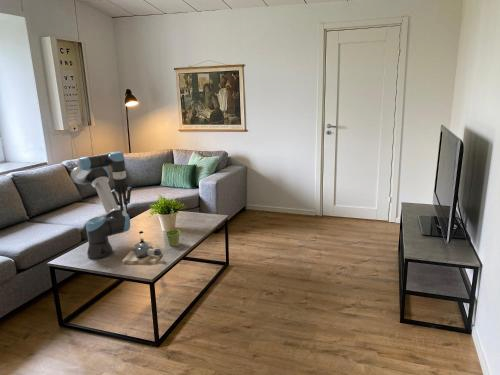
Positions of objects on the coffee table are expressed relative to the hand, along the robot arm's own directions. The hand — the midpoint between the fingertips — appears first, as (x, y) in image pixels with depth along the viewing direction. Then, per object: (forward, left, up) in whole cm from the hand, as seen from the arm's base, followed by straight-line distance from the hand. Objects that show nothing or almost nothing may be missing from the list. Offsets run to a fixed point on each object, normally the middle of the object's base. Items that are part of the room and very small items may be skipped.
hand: (124, 215), depth 229 cm
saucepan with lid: (+14, -6, -24) cm, 28 cm away
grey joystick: (+5, +10, -27) cm, 29 cm away
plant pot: (+24, +16, -27) cm, 39 cm away
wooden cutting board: (+10, -5, -26) cm, 29 cm away
